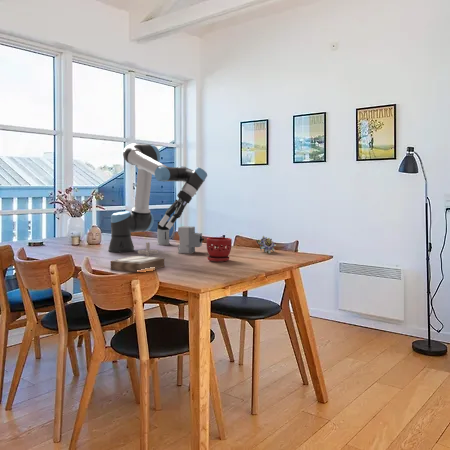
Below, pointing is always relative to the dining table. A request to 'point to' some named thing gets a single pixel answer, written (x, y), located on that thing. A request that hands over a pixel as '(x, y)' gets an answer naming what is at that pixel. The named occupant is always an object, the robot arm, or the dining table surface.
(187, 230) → the circuit breaker
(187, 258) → the dining table surface
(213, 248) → the plant pot
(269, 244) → the passion flower
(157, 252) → the pipe connector
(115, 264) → the stand
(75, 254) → the dining table surface
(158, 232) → the grey travel mug
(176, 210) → the robot arm
